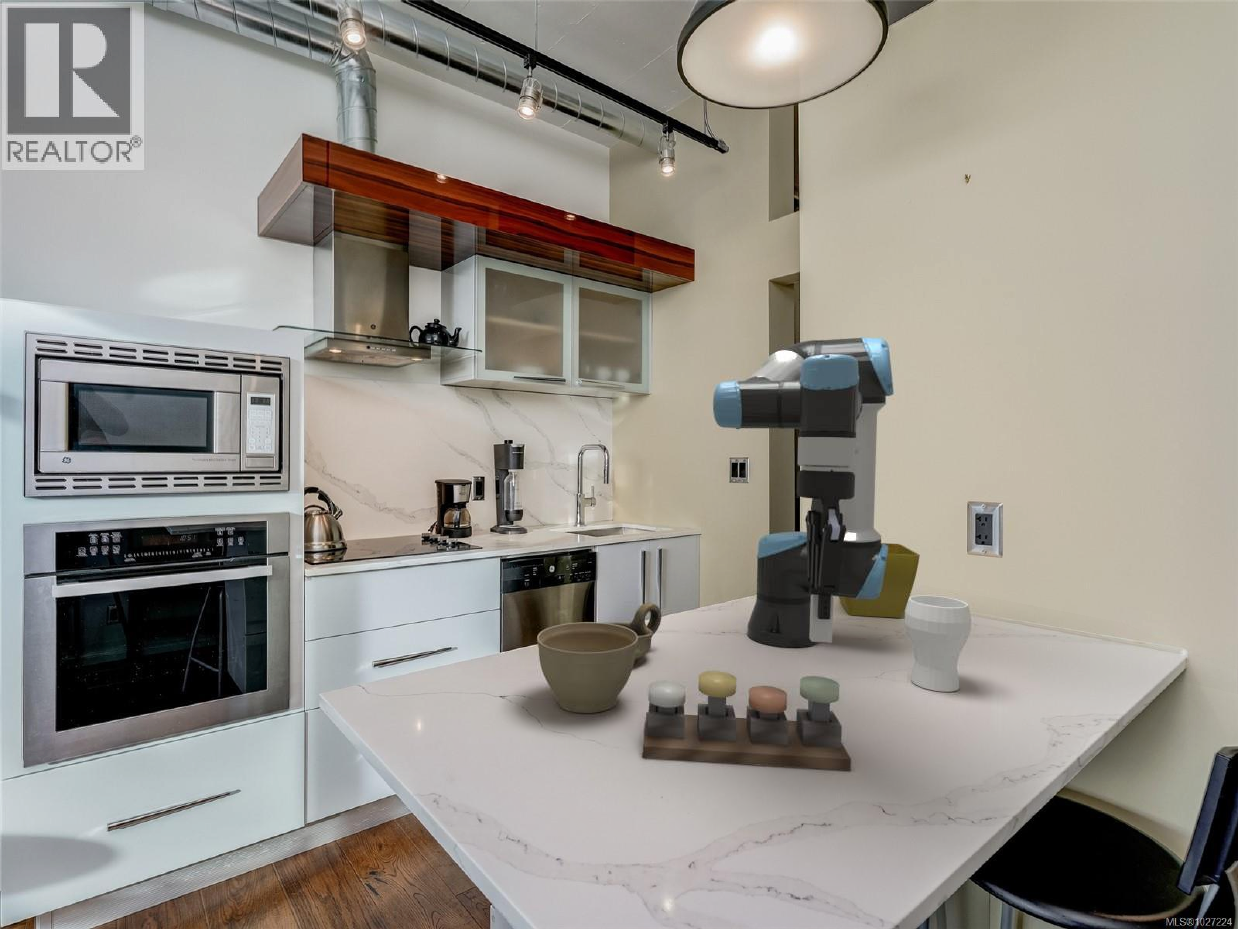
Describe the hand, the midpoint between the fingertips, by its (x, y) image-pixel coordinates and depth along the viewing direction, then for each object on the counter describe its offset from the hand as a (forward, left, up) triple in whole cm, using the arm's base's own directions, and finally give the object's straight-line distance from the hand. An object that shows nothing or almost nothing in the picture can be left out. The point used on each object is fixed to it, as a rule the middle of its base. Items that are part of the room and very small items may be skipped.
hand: (820, 640), depth 88 cm
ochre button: (-5, -13, -11) cm, 18 cm away
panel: (-4, -10, -15) cm, 19 cm away
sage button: (0, 0, -11) cm, 11 cm away
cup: (-18, +35, -16) cm, 42 cm away
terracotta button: (-3, -6, -13) cm, 15 cm away
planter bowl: (-23, -28, -16) cm, 39 cm away
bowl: (-43, -16, -16) cm, 48 cm away
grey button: (-7, -20, -13) cm, 25 cm away
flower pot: (-66, +57, -16) cm, 89 cm away
